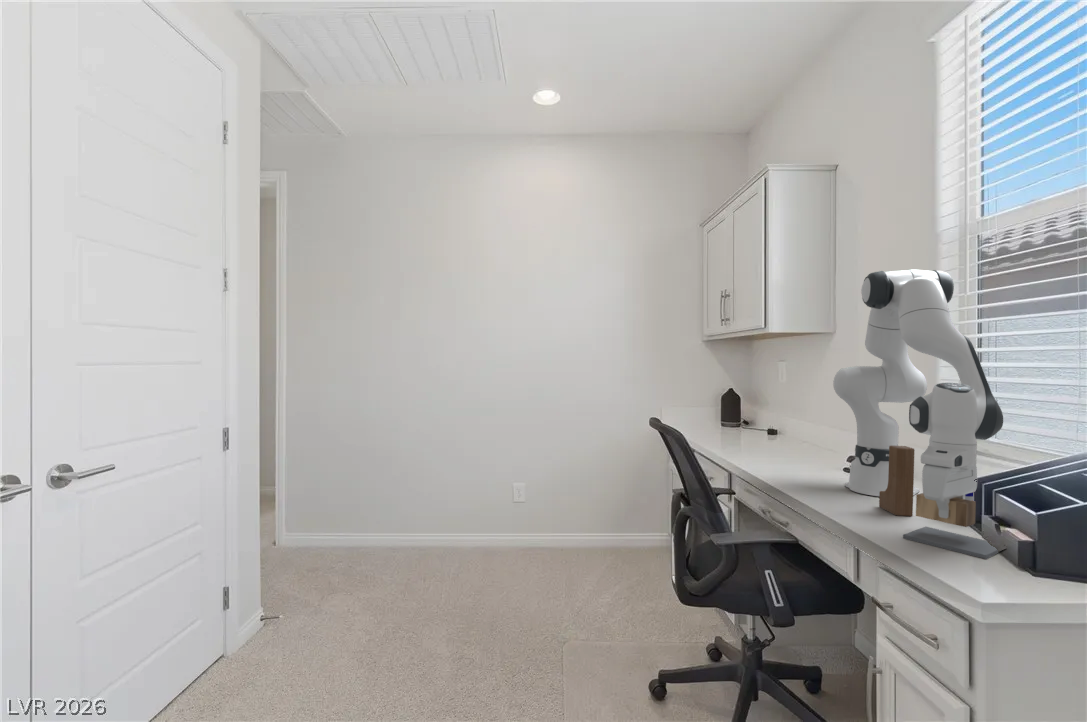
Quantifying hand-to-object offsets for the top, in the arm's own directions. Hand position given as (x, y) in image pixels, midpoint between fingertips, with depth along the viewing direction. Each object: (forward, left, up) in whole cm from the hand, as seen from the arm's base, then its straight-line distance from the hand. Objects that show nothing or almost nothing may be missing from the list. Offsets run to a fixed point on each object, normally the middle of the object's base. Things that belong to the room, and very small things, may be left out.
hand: (950, 515), depth 131 cm
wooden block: (-17, -19, -6) cm, 26 cm away
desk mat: (0, +1, -6) cm, 6 cm away
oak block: (0, -6, +1) cm, 6 cm away
